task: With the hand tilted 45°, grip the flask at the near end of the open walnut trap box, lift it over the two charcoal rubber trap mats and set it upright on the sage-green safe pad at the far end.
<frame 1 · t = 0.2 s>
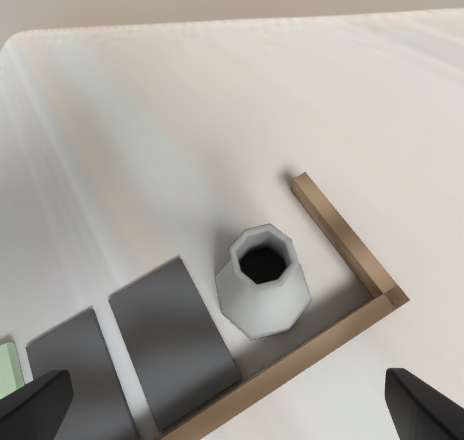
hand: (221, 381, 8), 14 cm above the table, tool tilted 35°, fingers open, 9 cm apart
trap box: (136, 366, 21), on the table
flask: (262, 289, 23), on the table
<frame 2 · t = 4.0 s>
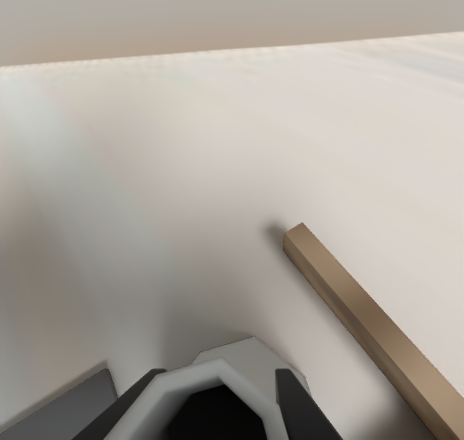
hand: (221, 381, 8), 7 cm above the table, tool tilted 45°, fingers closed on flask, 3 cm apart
flask: (241, 426, 13), on the table, touching gripper
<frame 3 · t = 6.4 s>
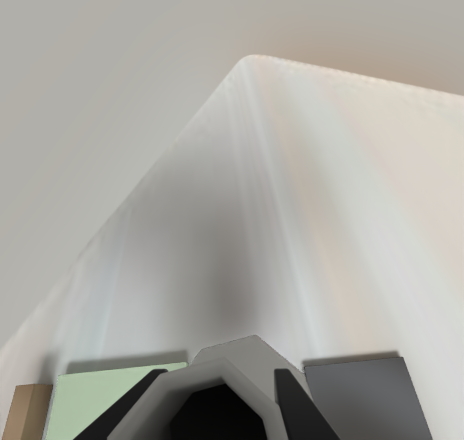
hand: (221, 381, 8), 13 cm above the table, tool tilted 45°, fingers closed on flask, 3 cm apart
flask: (240, 422, 13), point 6 cm above the table, touching gripper
when the fingers open (8 cm above the table, at t = 8.9 s): flask stays where it is, resting on safe pad.
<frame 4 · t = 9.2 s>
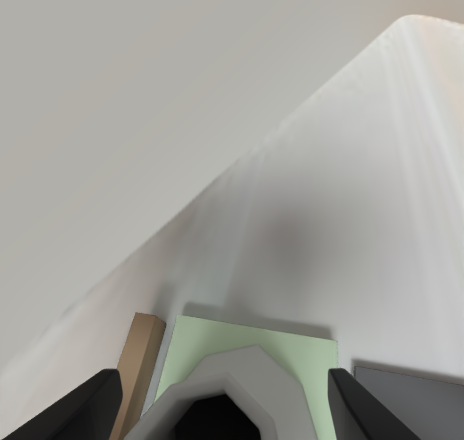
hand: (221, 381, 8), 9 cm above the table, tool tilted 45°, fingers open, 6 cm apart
safe pad: (241, 422, 15), on the table
flask: (240, 427, 14), point 1 cm above the table, touching safe pad
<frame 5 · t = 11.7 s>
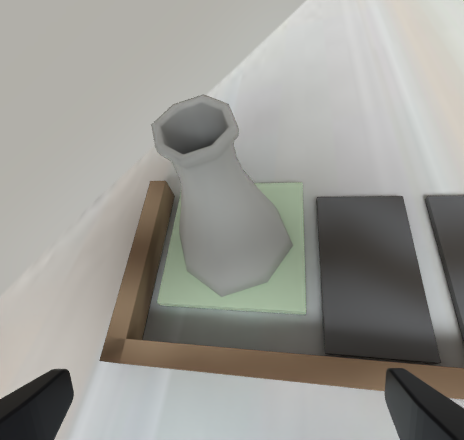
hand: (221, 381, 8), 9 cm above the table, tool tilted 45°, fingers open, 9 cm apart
safe pad: (236, 243, 20), on the table
trap box: (446, 279, 17), on the table
flask: (234, 242, 19), point 1 cm above the table, touching safe pad
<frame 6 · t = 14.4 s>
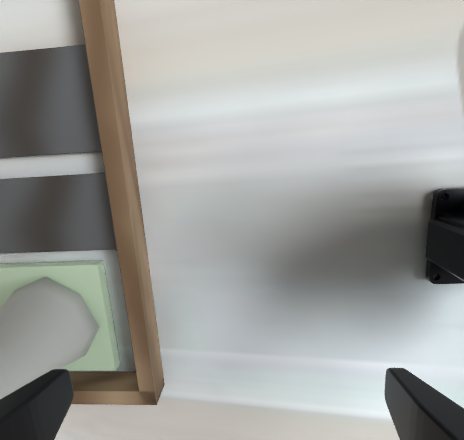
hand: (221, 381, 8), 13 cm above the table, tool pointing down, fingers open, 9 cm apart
safe pad: (58, 315, 23), on the table
trap box: (50, 154, 20), on the table
flask: (55, 319, 23), point 1 cm above the table, touching safe pad
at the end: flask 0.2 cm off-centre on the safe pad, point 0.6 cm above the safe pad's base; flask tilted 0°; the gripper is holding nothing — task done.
